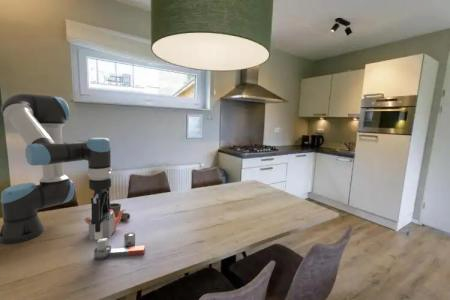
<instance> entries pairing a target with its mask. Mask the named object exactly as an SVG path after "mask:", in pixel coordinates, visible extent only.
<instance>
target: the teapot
mask: <svg viewBox="0 0 450 300" xmlns="http://www.w3.org/2000/svg"><path fill="white" fill-rule="evenodd" d="M109 211H113V210H109ZM125 211H127V209H126V208H125V209H120V213H119V216H118V217H117V218H116V217H115V214H114V231H113V233H112V234H114V233H115V231H116V229H117V224H119V223H120V222H121V221H122V220H121V216H122V213H125ZM91 216H92V215H90V216H87V217H85V218H84V221H85V223H86V224H87V225H89V222H88V220H89V218H90V217H91Z"/></svg>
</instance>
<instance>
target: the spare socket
mask: <svg viewBox="0 0 450 300" xmlns="http://www.w3.org/2000/svg"><path fill="white" fill-rule="evenodd" d="M123 238H124V239H123V240H124V241H123V242H124V243H123V244H124V245H123V246H124V247H123V248H129V247H130V246H136V233H135V232H131V231H130V232H127V233H125V234H124V235H123Z"/></svg>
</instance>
